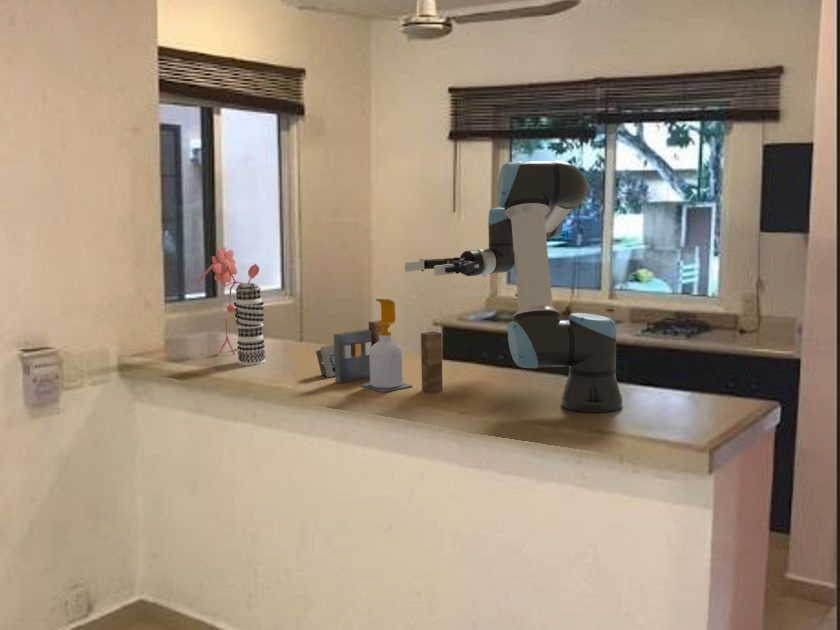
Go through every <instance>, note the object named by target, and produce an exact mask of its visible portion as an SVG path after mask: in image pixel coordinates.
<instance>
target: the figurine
mask: <svg viewBox="0 0 840 630" xmlns="http://www.w3.org/2000/svg"><path fill="white" fill-rule="evenodd" d="M211 262H212V264H211V265H210V266H209V267H208V268H207V269H206V271H204V273H203V274H202V275H201V276H200V277H199V279H198V280H197V283H200V282H201V280H203V279H204V278H205V277H206V276H207V274H209V272H210V271H213V273H215V274H214V276H213V277H214V278H213V279H214V280H215V281H217V282H218V281H220V282H221V284H222V285H223V287H224V288H226V287H229V286H230V285H231V286H230V287H229V300H228V301H229V304H227V306H226V311H227V312H226V317H225V341H224V343H222V346H221V345H220V350H219V352H218V354H219V355H220V354H221V352H222V350H223V349H224V348H225V346H226V344H228V345H229V348H230V350H231V353H232V354H233V355H236V353H235V350H234V348H233V346H232V344H231V342H230V339H229V338H230V335H228V315H229V313H233V312H235V309H236V306H234V303H233V304H232V303H231V301H232V300H231V299H232V289H233V288H234V286H235V285H236V284H239V285H240V284H245V283H246V282H242V281H237V280H236V279H235V276H236V275H237V274H238V270H237V267H236V260H235V258H234V251H233V250H232V249H230V250H229V249H228V251H227V248H226V247H225V246H224V247H222V248H220V247H218V248H217V250H216V256H214V255H213V256H212V257H211ZM247 273H248V277H249V280H248V282H247V283H251V280H252V279H255V277H256V276H258V274H259V273H260V267H259V265H257V264H256V263H254V264H253V265H251V266H250V268H248V271H247ZM234 275H235V276H234ZM232 280H233V281H232ZM263 345H264V346H266V345H265V344H263ZM218 348H219V346H217V347H216V346H215V349H218ZM212 349H214V347H213V348H212V347H211V348H208V349H206V350H204V351H201V354H202V355H203V353H205V352H206V351H209V350H212Z"/></svg>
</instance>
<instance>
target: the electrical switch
mask: <svg viewBox="0 0 840 630" xmlns="http://www.w3.org/2000/svg"><path fill="white" fill-rule="evenodd" d="M315 353H316V358H317V361H318V365H319V370H320V373H321V376H322V375H324V376H323V377H326V378H328V377H330V378H333V376H334V377H335V353H334V343H333V344H329V345H328V344H327V345H323V346H321V347H320V349H318V350H315Z"/></svg>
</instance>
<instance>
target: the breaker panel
mask: <svg viewBox="0 0 840 630" xmlns="http://www.w3.org/2000/svg"><path fill="white" fill-rule="evenodd" d="M333 344H334V353H335V376H334V379H335V380H334V381H335V383H337V382H338V384H345V383H351V382H355V381H354V380H356V381H361V380H365V378H366V379H370V359H369V351H370V348H371V347H372V330H369V328H364V329H358V330H351V331H347V332H339V333H334V334H333ZM360 379H361V380H360ZM344 382H345V383H344Z"/></svg>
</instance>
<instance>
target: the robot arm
mask: <svg viewBox="0 0 840 630" xmlns="http://www.w3.org/2000/svg"><path fill="white" fill-rule="evenodd" d="M588 187H589V186H588V182H587V178H586V176H585V175H584V173H583V172H582V171H581V169H579V168H578V167H577V166H575V165H574V164H572V163H569V162H567V161H563V160H533V161H532V160H531V161H524V160H523V161H521V160H519V161H510V162H509V161H508V162H505V163H504V164H503V165H502V166H501V169H500V172H499V175H498V181H497V190H496V191H497V192H496V201H497V202H496V203H497V207H492V208H490V209H489V211H488V221H487V226H488V227H487V228H488V248H479V249H471V250H465V251H463V252H462V253H461V255H460V257H457V256H456V257H455V256H454V257H448V258H447V257H445V258H430V259H428V258H427V259H422V258H421V259H419V260H414V261H405V262H404V272H406V273H408V272H416V271H417V272H418V271H421V272H424V270H429V269H430V270H433V274H434V276H436V277H437V276H446V275H454V274H457V275H458V274H462V275H464V276H466V277H475V276H480V275H482V276H483V277H486V276H487V275H491V274H499V273H500V274H501V273H508V272H512V271H515V282H516V283H515V284H516V292H517V293H516V294H517V295H516V296H517V305H518V308H517V310H516V312H515V313H514V314H513V315H512V321H510V322H509V323H508V325H507V340H508V346H509V351H510V354H511V358H512V360H513V361H514V364H515V365H516V366H518V367H519V368H523V369H525V368H526V369H538V368H557V367H560V368H561V367H568V377H567V380H566V384H565V387H564V391H563V393H562V396H561V405H562V407H564V408H565V409H567V410H571V411H575V412H581V413H593V414H595V413H596V414H597V413H599V414H600V413H609V412H615V411H618V410H619V409H621V408H622V407H623V396H622V394H621V390H620V387H619V384H618V380H617V376H616V374H617V369H616V368H617V367H616V366H617V365H616V363H617V339H618V336H617V325H616V322H615V321H614V320H613V319H612V318H610V317H608V316H605V315H604V316H603V315H599V314H593V313H584V312H572V313H569V316H568V319H561V317H560V311H559V310H557V309H556V308H555V307H554V306H553V305H554V304H553V296H552V295H553V294H552V285H551V283H552V282H551V275H550V264H549V253H548V252H549V251H548V242H547V240H550V239H553V238H555V239H556V238H559V237H561V236H562V234H563V230H564V219H565V217H566V216H568V214H569V213H570V211H572V210H573V209H577V208H578V207H579V206H580V205H581V204H582V203H583V202H584V200H585V199H586V197H587V193H588Z"/></svg>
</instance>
